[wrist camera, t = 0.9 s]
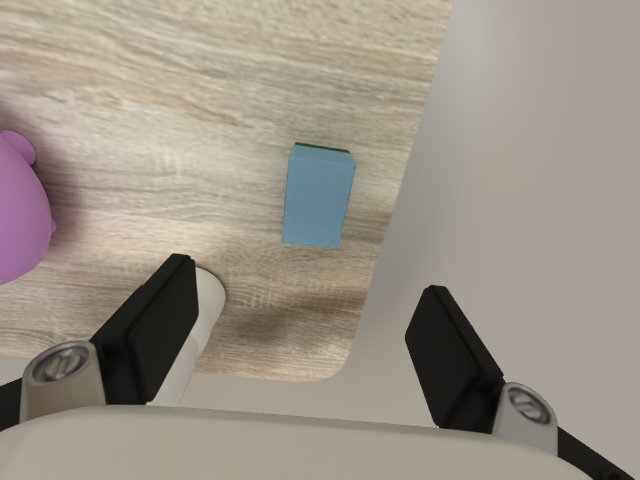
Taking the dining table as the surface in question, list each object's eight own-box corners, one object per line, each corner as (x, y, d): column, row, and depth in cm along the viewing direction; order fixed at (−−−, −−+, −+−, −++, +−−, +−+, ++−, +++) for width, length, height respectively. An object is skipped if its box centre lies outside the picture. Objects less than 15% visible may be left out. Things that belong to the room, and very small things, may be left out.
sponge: (295, 142, 22) (289, 155, 17) (349, 150, 22) (356, 165, 18) (288, 215, 25) (281, 241, 20) (335, 221, 25) (338, 249, 21)
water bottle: (228, 268, 28) (-113, 928, 6) (226, 317, 31) (4, 853, 9) (158, 257, 27) (-521, 951, 5) (163, 308, 30) (-236, 862, 9)
